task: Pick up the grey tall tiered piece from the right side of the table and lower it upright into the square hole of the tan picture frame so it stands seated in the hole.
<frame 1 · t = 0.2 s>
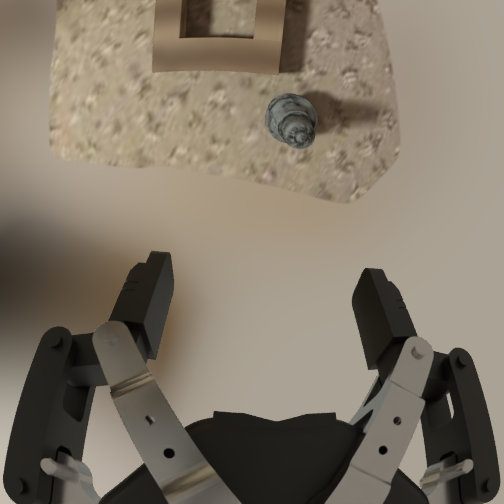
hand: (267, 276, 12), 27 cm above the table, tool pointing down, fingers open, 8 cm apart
grey tall tiered piece: (288, 113, 32), on the table
tan picture frame: (221, 9, 24), on the table
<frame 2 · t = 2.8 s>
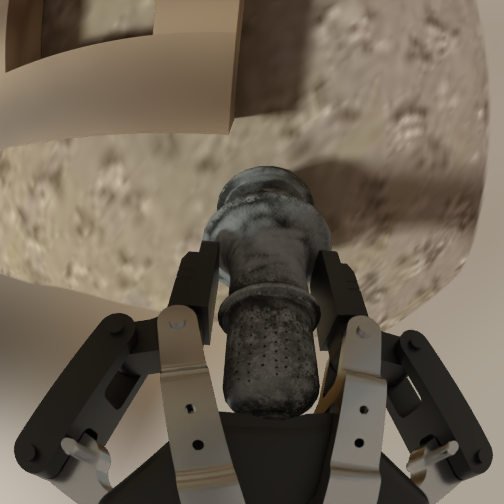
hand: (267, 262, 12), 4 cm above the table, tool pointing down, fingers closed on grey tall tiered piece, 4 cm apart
grey tall tiered piece: (265, 209, 16), on the table, touching gripper
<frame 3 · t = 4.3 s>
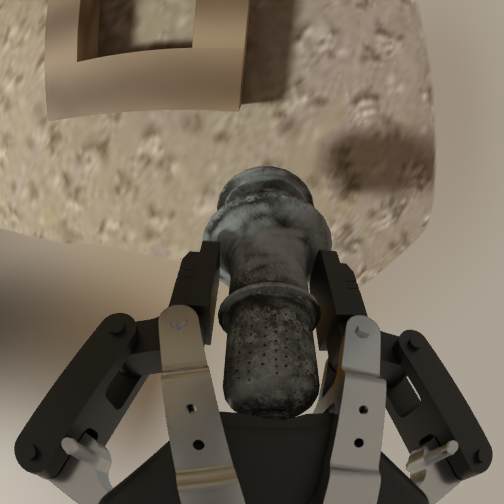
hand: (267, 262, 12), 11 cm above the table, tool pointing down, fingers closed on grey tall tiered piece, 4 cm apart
grey tall tiered piece: (265, 209, 16), point 6 cm above the table, touching gripper
tan picture frame: (149, 3, 13), on the table
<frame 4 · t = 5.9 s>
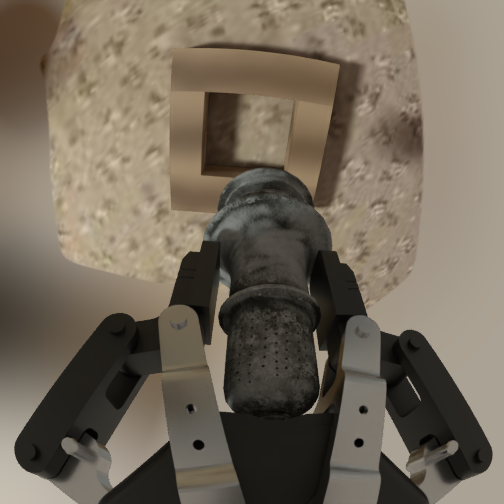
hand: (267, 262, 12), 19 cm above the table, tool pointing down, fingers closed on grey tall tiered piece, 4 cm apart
grey tall tiered piece: (265, 210, 16), point 14 cm above the table, touching gripper
tan picture frame: (248, 130, 26), on the table
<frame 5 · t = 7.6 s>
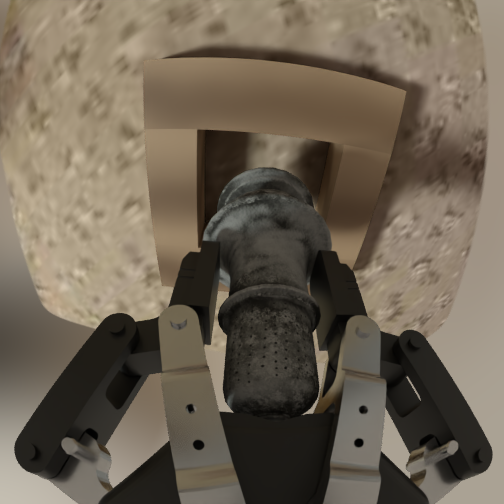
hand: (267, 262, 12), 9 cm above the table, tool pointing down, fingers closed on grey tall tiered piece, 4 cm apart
grey tall tiered piece: (265, 210, 16), point 4 cm above the table, touching gripper
tan picture frame: (263, 178, 19), on the table
when the fingers open (5 cm above the table, at t = 9.0 s): grey tall tiered piece stays where it is, resting in tan picture frame.
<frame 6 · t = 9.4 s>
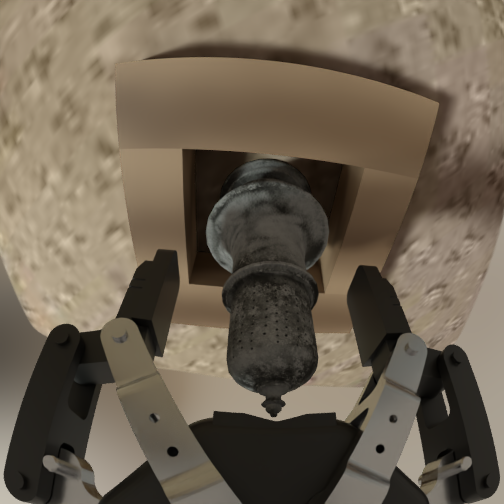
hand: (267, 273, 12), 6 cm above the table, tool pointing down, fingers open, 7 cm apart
grey tall tiered piece: (265, 200, 17), resting in tan picture frame
tan picture frame: (264, 202, 17), on the table
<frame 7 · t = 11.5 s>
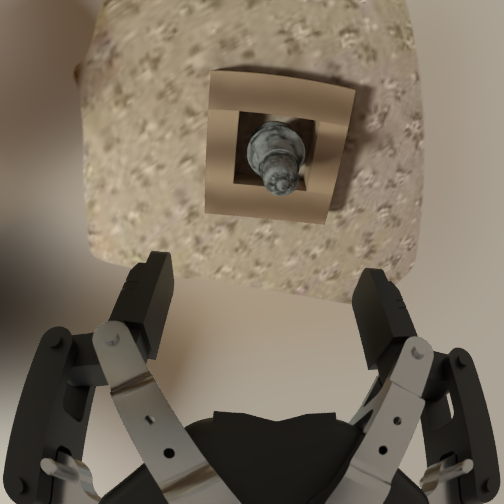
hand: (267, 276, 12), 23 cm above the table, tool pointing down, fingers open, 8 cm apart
grey tall tiered piece: (274, 143, 31), resting in tan picture frame
tan picture frame: (273, 144, 31), on the table
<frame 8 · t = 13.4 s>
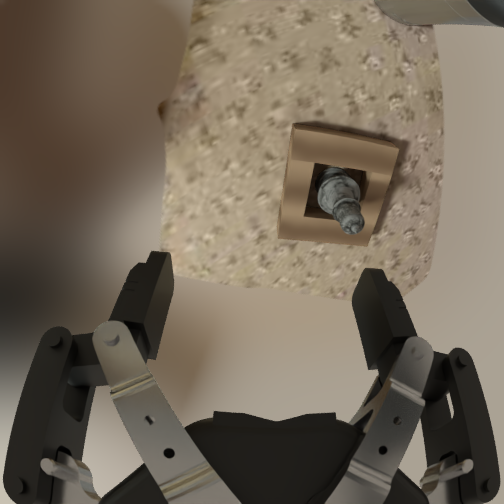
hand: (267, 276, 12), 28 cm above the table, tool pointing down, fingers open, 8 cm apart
grey tall tiered piece: (333, 183, 39), resting in tan picture frame
tan picture frame: (332, 184, 39), on the table
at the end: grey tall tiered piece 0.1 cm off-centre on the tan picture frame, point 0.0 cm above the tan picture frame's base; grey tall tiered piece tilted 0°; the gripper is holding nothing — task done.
